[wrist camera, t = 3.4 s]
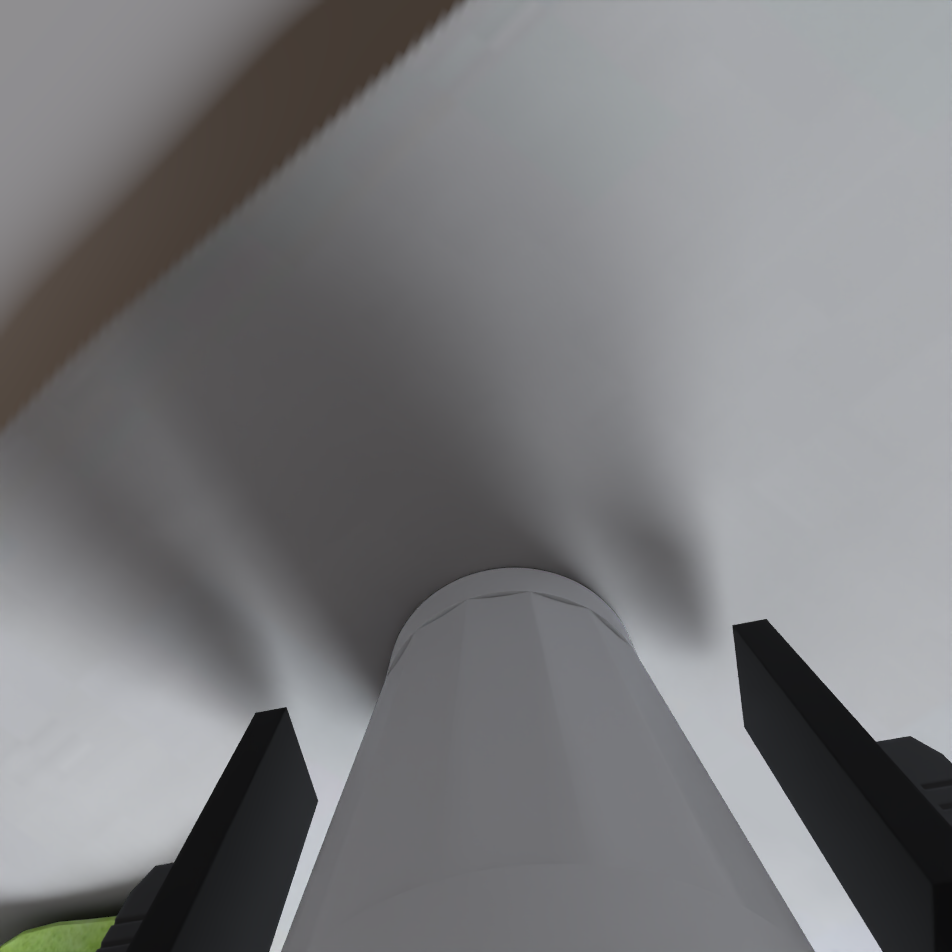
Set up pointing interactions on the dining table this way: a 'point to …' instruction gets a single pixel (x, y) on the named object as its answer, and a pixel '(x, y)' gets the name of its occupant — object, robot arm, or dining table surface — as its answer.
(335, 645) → the dining table surface
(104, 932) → the leaf
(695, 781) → the cup
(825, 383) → the dining table surface
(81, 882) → the dining table surface
